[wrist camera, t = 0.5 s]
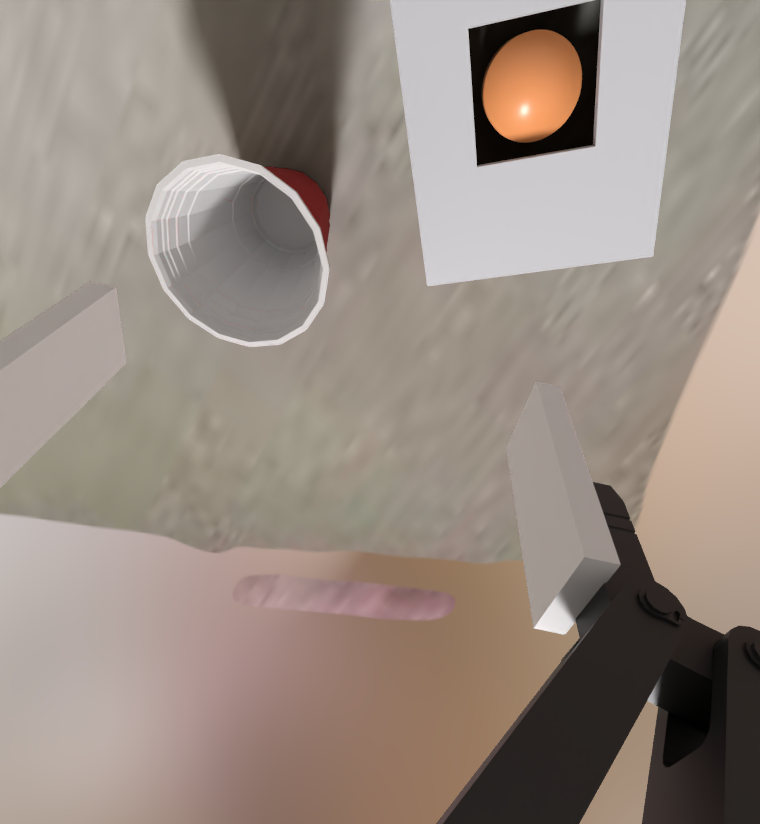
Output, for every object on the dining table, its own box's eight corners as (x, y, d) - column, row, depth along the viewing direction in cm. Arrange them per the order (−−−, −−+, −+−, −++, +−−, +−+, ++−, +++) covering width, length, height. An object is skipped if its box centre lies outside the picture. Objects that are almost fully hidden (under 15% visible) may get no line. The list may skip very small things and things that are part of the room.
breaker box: (385, -104, 27) (371, -140, 22) (663, -183, 25) (717, -244, 20) (429, 257, 38) (427, 286, 33) (624, 229, 36) (652, 256, 31)
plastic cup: (205, 126, 35) (111, 152, 25) (359, 130, 34) (324, 158, 24) (230, 277, 41) (163, 345, 31) (361, 283, 40) (333, 355, 30)
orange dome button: (478, 43, 28) (481, 41, 26) (574, 21, 27) (584, 18, 25) (483, 144, 31) (486, 150, 29) (570, 128, 30) (579, 133, 28)
